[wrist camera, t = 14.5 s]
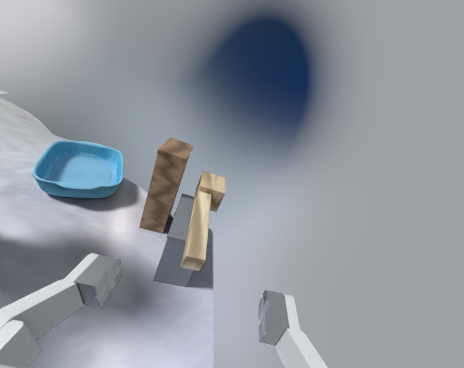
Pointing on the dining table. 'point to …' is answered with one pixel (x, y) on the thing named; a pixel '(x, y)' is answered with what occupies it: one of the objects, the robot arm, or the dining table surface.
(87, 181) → the casserole dish
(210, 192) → the mallet
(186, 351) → the dining table surface
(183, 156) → the shelf block
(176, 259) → the storage box
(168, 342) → the dining table surface
